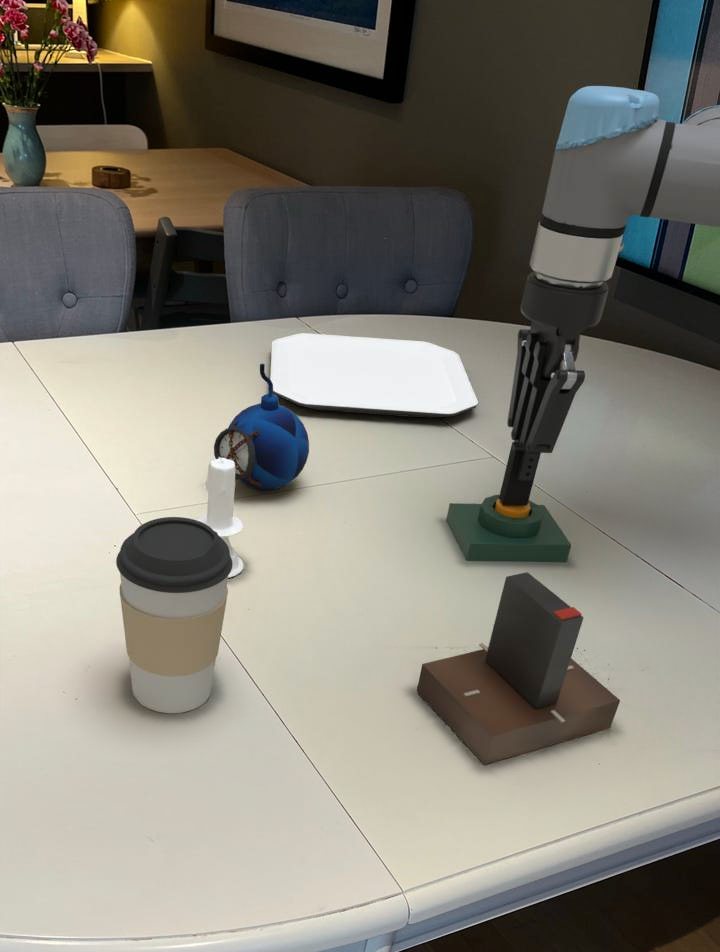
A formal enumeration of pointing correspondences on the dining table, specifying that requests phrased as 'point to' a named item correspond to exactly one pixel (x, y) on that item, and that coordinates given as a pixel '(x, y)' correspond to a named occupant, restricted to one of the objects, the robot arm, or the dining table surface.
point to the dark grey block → (533, 639)
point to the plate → (370, 375)
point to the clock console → (511, 707)
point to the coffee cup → (173, 610)
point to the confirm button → (512, 510)
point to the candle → (223, 506)
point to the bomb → (265, 443)
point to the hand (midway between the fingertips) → (513, 501)
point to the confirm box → (506, 534)
